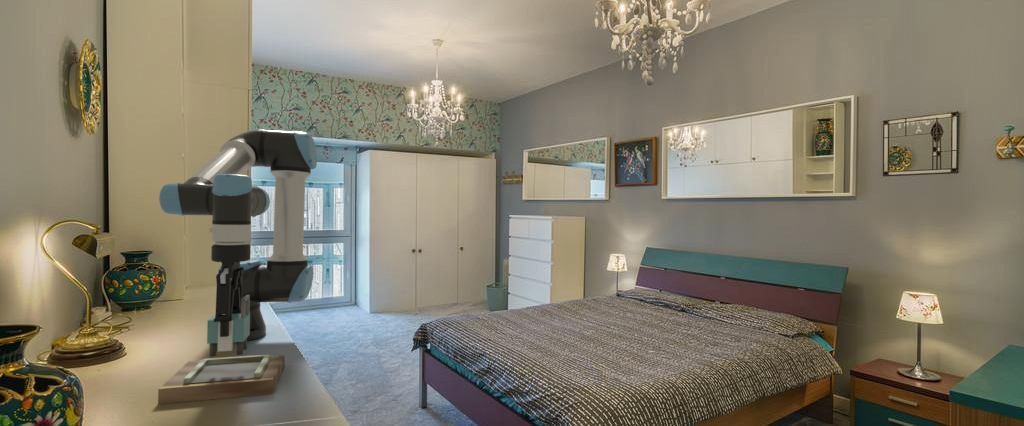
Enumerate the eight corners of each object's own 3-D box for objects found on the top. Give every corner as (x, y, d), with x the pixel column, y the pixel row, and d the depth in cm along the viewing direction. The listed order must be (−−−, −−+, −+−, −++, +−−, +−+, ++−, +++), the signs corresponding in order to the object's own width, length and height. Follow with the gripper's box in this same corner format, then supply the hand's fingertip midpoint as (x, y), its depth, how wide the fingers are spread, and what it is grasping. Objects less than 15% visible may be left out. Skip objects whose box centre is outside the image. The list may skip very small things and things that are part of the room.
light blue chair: (214, 349, 107) (215, 295, 107) (249, 347, 110) (250, 294, 109) (206, 357, 102) (208, 300, 102) (243, 355, 104) (244, 299, 104)
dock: (188, 373, 113) (188, 356, 113) (284, 366, 119) (284, 350, 119) (158, 404, 96) (158, 383, 96) (272, 393, 102) (272, 374, 102)
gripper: (223, 240, 113) (221, 336, 113) (198, 246, 95) (195, 360, 95) (258, 240, 116) (256, 334, 116) (240, 246, 98) (237, 357, 98)
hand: (229, 346), depth 106 cm, fingers closed on light blue chair, 6 cm apart
